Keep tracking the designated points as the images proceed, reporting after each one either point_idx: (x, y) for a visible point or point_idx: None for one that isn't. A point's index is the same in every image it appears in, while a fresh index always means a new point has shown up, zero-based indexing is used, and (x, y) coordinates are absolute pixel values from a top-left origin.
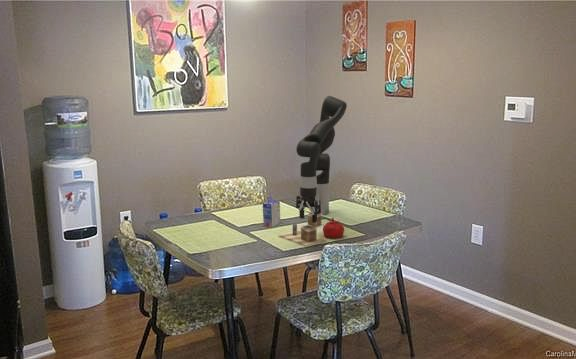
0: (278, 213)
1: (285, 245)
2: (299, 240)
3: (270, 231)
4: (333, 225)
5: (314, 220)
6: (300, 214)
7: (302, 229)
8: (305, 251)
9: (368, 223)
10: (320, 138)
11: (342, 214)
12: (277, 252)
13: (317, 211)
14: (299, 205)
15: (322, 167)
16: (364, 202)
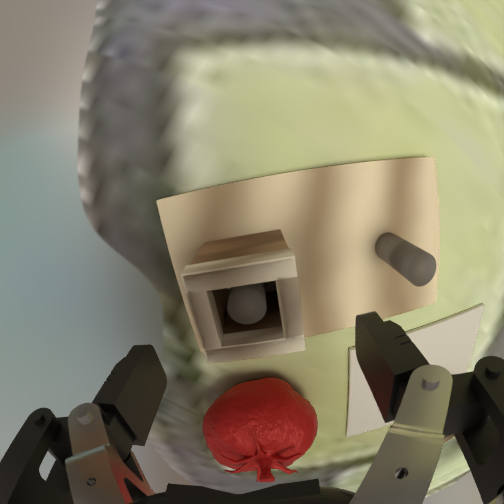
0: None
1: (267, 101)
2: (265, 207)
3: (500, 187)
4: (230, 446)
5: (119, 366)
6: (379, 340)
7: (265, 253)
8: (107, 161)
9: None
10: None
11: None
12: (175, 19)
13: (25, 438)
14: (484, 420)
15: None
16: (430, 494)
